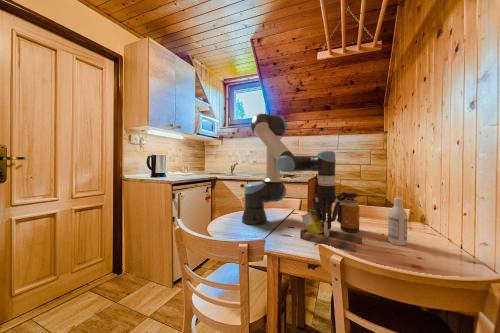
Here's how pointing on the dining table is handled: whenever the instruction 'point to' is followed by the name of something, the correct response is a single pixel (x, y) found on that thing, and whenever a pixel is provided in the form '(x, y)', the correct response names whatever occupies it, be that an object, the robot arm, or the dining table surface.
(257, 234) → the dining table surface
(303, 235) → the bay
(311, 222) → the supplement box
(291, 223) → the dining table surface
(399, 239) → the bath foam
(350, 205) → the canister
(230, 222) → the dining table surface
